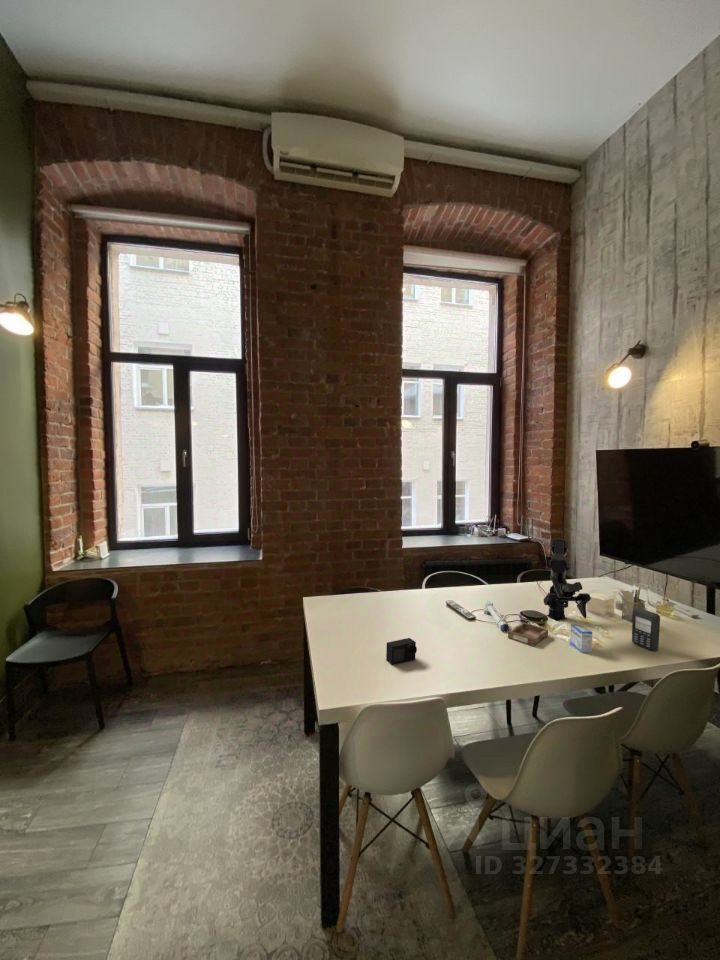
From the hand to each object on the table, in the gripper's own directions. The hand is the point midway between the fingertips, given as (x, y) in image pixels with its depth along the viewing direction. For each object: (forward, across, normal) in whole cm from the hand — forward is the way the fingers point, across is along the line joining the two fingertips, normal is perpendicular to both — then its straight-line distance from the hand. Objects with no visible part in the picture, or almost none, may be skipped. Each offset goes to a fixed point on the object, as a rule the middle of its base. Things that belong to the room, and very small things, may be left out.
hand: (575, 618), depth 168 cm
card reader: (+11, +28, +5) cm, 30 cm away
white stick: (-10, -23, +26) cm, 36 cm away
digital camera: (+15, -75, +1) cm, 77 cm away
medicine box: (+11, 0, +5) cm, 12 cm away
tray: (+2, -16, +13) cm, 21 cm away
